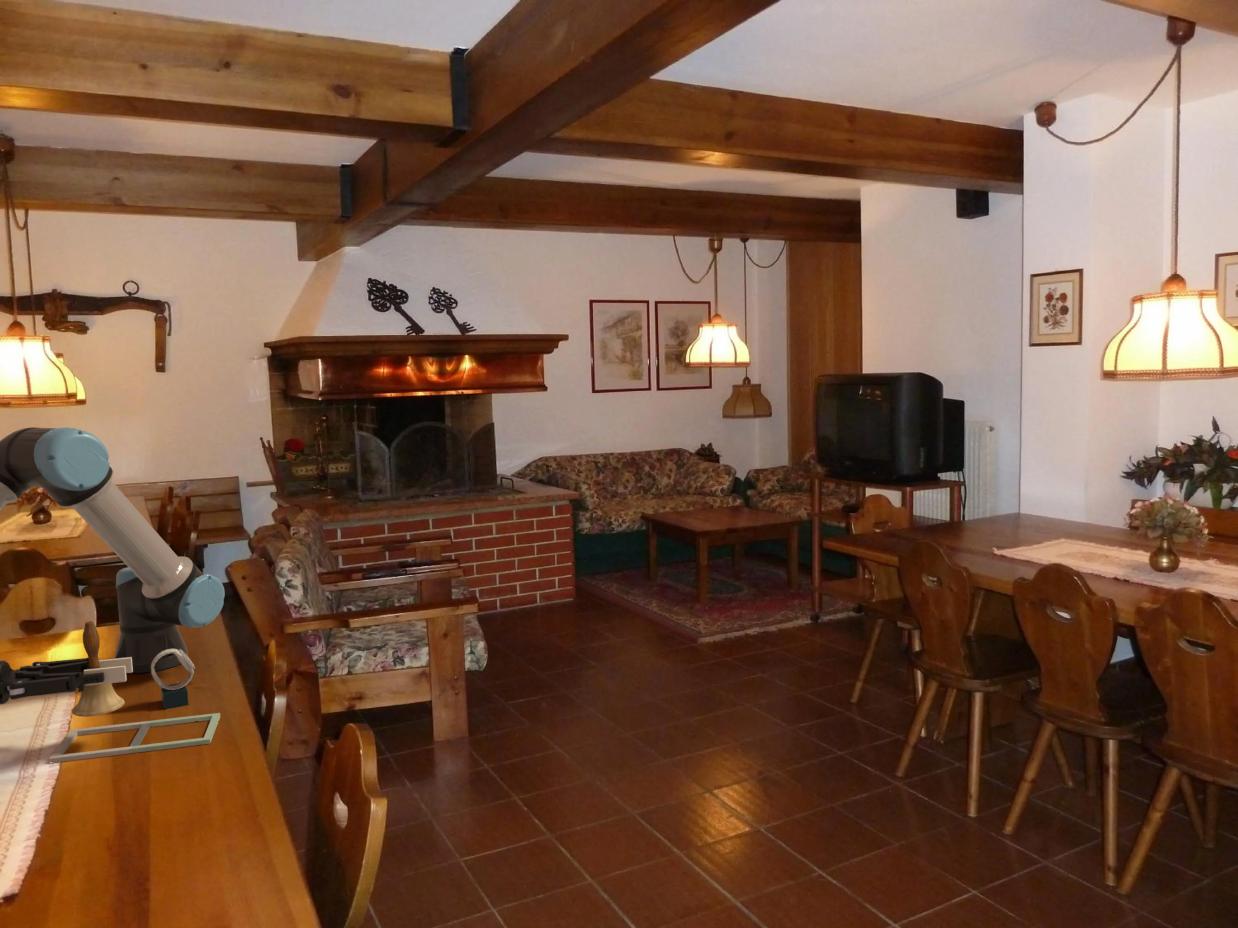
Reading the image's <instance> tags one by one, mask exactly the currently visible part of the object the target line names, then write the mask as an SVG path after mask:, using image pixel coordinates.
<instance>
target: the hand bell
mask: <svg viewBox="0 0 1238 928" xmlns="http://www.w3.org/2000/svg"><path fill="white" fill-rule="evenodd" d="M100 643H101V641H100V634H99V631H98V629H97V627H96V626H95V624H94V621H93V620H92V621H86V622H85V623H84V628H83V632H82V644H83V648H84V650H85V653H86V655H87V658H88V659H89V667H90V668H89V669H97V668H100V666H99V660H100V659H99V650H100V645H101V644H100ZM125 704H126V703H125V700H124V699H123V698H122V697H121V696H119V695H118V694H117V693H116V691H115V689H114V687H113V683H108V684H98V685H89V686H85V684H84V691H81V692H80V697H79V700H78V702H77V703H76V704H75V706H74V707H73V709H72V711H71V713H72V715H74V716H77V717H95V716H102V715H106V714H110V713H112V712H114V711H117V710H119V709H121V708H122V707H123V706H124V705H125Z"/></svg>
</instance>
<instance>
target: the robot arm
mask: <svg viewBox="0 0 1238 928" xmlns="http://www.w3.org/2000/svg"><path fill="white" fill-rule="evenodd" d="M109 459H110V454H109V452H108V449H107V447H106V445H105V444H104V442H103V441H102V440H101V439H100V438H99V437H98V436H96V435H95V434H92V433H91V432H88V431H86V430H82V429H78V428H74V427H35V426H34V427H33V426H32V427H25V428H22V429H18V430H15V431H13V432H11V433H10V434H8V435H6V436H5V437H3V438H2V439H1V440H0V512H1V511H2V509H3V508H4V507H5V506H6V505H7V504H12V503H16V502H17V501H18V500H19V499H20V497H21V496H22V495H23V494H24V493H25V492H26V491H28V490H30V489H32V488H41V489H43V490H44V491H45V492H46V494H48V495H49V496H50V497H51V498H52V500H53V501H54V502H55V503H56V504H57V505H58V506H59V507H60V508H69V509H71V508H73V510H74V511H75V512H76V513H77V514H78V515H79V516H80V517H81V518H82V519H83V520H84V522H86V523H87V524H88V525H89V527H90V528H91V529H92V530H93V531H94V532H95V533H96V534H97V535H98V537H100V539H102V541H103V542H104V543H105V544H106V545H107V546H108V547H109V548H110V549H111V551H113V553H114V554H116V555H117V557H119V558H120V560H121V561H122V562H123V563H124V564H125V565H126V566H127V567H124V568H121V569H119V570H118V571H117V573H116V576H115V577H116V579H115V580H116V581H115V589H116V595H117V596H116V597H117V608H118V609H117V610H118V618H119V629H120V630H119V632H120V634H119V639H118V641H117V646H116V649H115V653H114V658H109V659H108V658H107V659H99V666H100V668H97V669H89V668H90V667H89V659H88V657H83V658H82V657H81V658H74V659H64V660H51V661H50V660H49V661H34V662H32V665H24V666H21V667H19V668H18V669H12V668H11V666H10V663H9V662H8V661H7V660H0V705H4V704H6V703H8V701H9V700H18V699H23V698H27V697H28V698H29V697H37V696H45V695H46V696H47V695H53V694H55V695H56V694H63V693H70V692H71V693H73V692H76V691H78V693H81V692H82V691H84V684H85V686H89V685H98V684H108V683H111V684H115V683H125V682H126V681H127V680H128V679H127V678H128V677H127V674H143V673H151V664H152V661H153V659H154V658H155V657H156V656H157V655H158V654H159V653H160V652H162V651H164V650H167V649H177V650H180V649H181V650H182V651H183V652H184V653H185V654H186V655H187V656H188V654H189V653H188V647H187V645H186V643H185V641H184V639H183V637H182V634H181V632H180V630H179V627H178V626H181V627H182V626H183V627H184V628H202V627H205V626H207V625H209V624H211V623H212V622H213V621H215V620H216V618H217V617H218V616H219V614H220V613H221V611H222V609H223V606H224V599H225V595H226V594H225V591H226V590H225V587H224V585H223V583H222V581H221V580H220V579H219V578H218V577H216V576H214V575H212V574H210V573H203V572H202V571H201V569H199V567H197V565H196V564H195V563H194V562H193V561H192V560H191V558H189V557H187V556H179V555H177V554H176V553H175V552H174V550H172V548H171V547H170V546H169V545H168V543H167V542H166V541H165V540H164V539H163V538H162V537H161V536H160V534H159V533H158V532H157V531H156V530H155V529H154V527H153V526H152V524H150V523H149V522H148V521H147V520H146V519H145V518H144V516H143V515H142V514H141V512H140V511H138V509H137V508H136V507H135V506H134V505H133V504H132V502H131V501H130V500H129V499H128V498H127V496H125V494H124V493H123V492H122V491H121V490H120V488H119V487H117V485H116V484H115V483H114V481H113V478H114V477H113V476H114V470H113V469H112V467H111V466H110V464H111V463H110V462H109ZM188 657H189V656H188ZM178 665H182V664H181V663H180V661H179V660H178V659H177V657H176V655H175V654H174V653H170V654H166V655H164V656H162V657H161V658H160V659H158V661H157V662H156V663H155V665H154V669H155V672H157V671H162V670H167V669H170V668H173V667H177V666H178Z"/></svg>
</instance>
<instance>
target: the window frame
mask: <svg viewBox="0 0 1238 928" xmlns="http://www.w3.org/2000/svg"><path fill="white" fill-rule="evenodd" d="M220 719H221V712H216V713H215V712H214V713H208V714H207V713H206V714H199V715H198V714H197V715H189V716H188V715H187V716H182V717H181V716H179V717H172V718H164V719H163V718H162V719H156V720H147V721H138V722H127V723H121V724H120V723H118V724H109V725H102V726H95V727H86V728H85V727H84V728H83V727H82V728H75V729H71V730H70V731H69V733H68V734H67V735H66V736H65V737H64V739H63V740H62V742H61V743H60V744H59V746H58V747H57V748H56V750H55V751H54V752H53V753H52V755H51V756H50V757H49V763H50V762H56V761H57V762H56V763H63V762H71V761H79V760H87V759H94V758H97V759H98V758H104V757H112V756H119V755H127V754H135V753H136V754H137V753H143V752H144V753H145V752H152V751H160V750H162V751H163V750H169V749H176V748H184V747H194V746H202V745H203V746H204V745H211V743H212V739H213V737H214V734H215V733H216V730H217V726H218V724H219V722H220ZM195 721H199V722H207V721H209V723H208V726H207V729H206V731H205V734H204V736H203V737H198V738H191V739H189V738H188V739H183V740H182V739H181V740H174V741H167V742H166V741H165V742H159V743H158V742H157V743H150V744H149V743H148V744H142V741H143V740H144V738H145V737H146V735H147V733H148V732H149V729H150V728H153V727H163V726H171V725H178V724H180V725H181V724H188V723H196V722H195ZM218 721H219V722H218ZM135 729H136V730H138V731H137V733H136V735H135V736H134V737H133V739H132V741H131V743H130V744H129V746H125V747H124V746H123V747H117V748H116V747H115V748H107V749H100V750H92V751H91V750H90V751H89V750H88V751H81V752H74V753H66V752H67V750H68V749H69V748H70V746H71V745H72V744H73V742H74V741H75V739H76V738H77V737H78V736H85V735H93V734H101V733H110V732H119V731H128V730H135Z"/></svg>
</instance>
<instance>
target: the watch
mask: <svg viewBox="0 0 1238 928" xmlns="http://www.w3.org/2000/svg"><path fill="white" fill-rule="evenodd" d="M170 653H174V654H175V655H176V657H177V659H178V660H179V661H180V663H181V664H180V665H181V666H182V667H183V668H184V669H185V670H186V671H187V672H189V674H188V675H187V677H186V678H185V679H184V680H183V681H181V682H177V683H172V684H165V682H164V681H163V680H162V679H161V678H160V677H159V676H158V673H157V671H155V669H154V665H155V663H156V662H157V661H158V659H160V658H161V657H162V656H164V655H166V654H170ZM194 669H196V666H195V664H194V663H193V661H192V659H191V658H190V657H189V656H187V655H186V654H185V653H184V652H183V651H182V650H181V649H180V650H177V649H167V650H164V651H162V652H160V653H159V654H158V655H157V656H156V657H155V658H154V659H153V661H152V664H151V672H150V673H151V676H152V679H153V680H154V682H155V683H156V684H157V685H158V686H159V688H160V691H161V693H160V694H161V703H162V706H163V709H164V710H169V709H174V708H175V709H176V708H180V707H185V706H189V697H188V696H189V695H188V688H187V685H188V684H189V683H190V682H191V681H192V679H193V676H194V674H195V673H194Z"/></svg>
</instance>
